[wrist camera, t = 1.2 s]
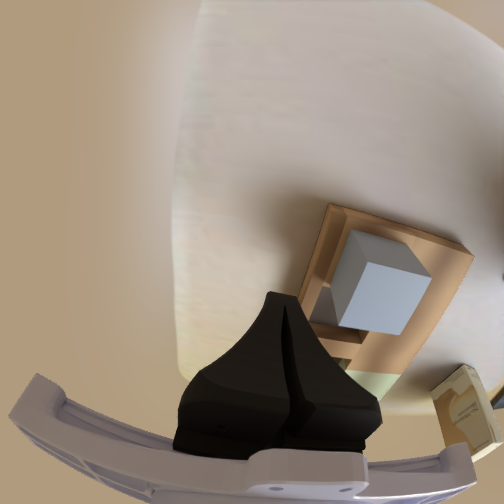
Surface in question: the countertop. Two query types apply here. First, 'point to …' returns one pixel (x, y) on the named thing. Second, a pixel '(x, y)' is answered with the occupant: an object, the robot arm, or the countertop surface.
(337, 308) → the block
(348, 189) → the countertop surface
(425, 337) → the board
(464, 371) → the skincare box
